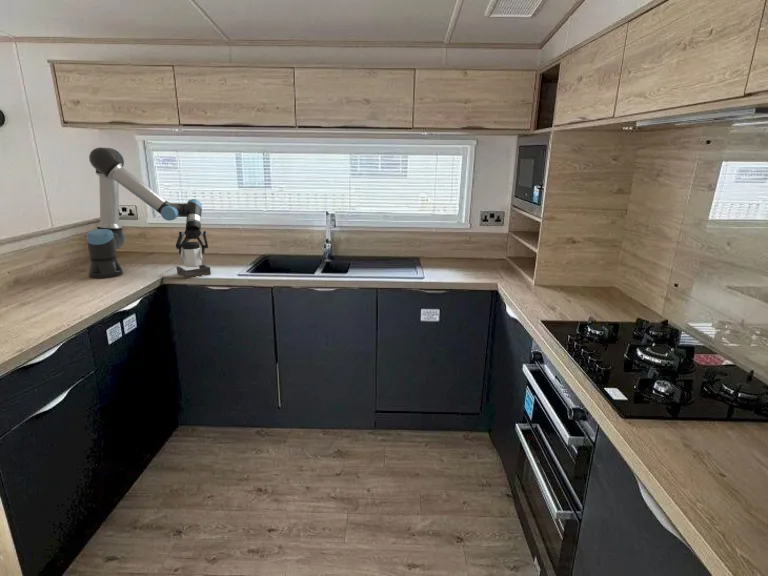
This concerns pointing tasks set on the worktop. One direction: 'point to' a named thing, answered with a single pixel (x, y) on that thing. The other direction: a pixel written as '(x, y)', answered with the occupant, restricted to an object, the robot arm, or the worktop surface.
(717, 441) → the worktop surface
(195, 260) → the jar
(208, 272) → the keeper bracket
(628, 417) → the worktop surface
